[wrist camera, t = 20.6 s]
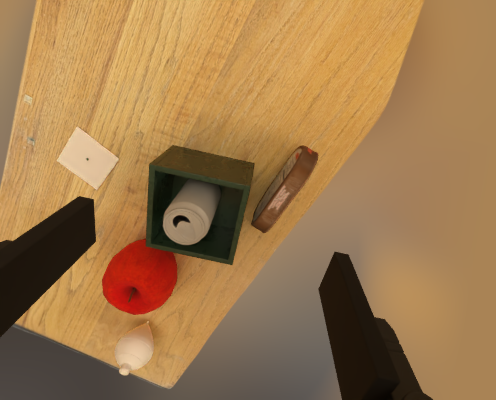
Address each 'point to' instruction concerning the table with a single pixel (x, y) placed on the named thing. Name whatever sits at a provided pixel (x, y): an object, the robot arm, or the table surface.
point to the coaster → (87, 158)
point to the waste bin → (228, 210)
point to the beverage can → (191, 212)
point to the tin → (284, 188)
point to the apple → (140, 278)
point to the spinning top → (134, 349)
